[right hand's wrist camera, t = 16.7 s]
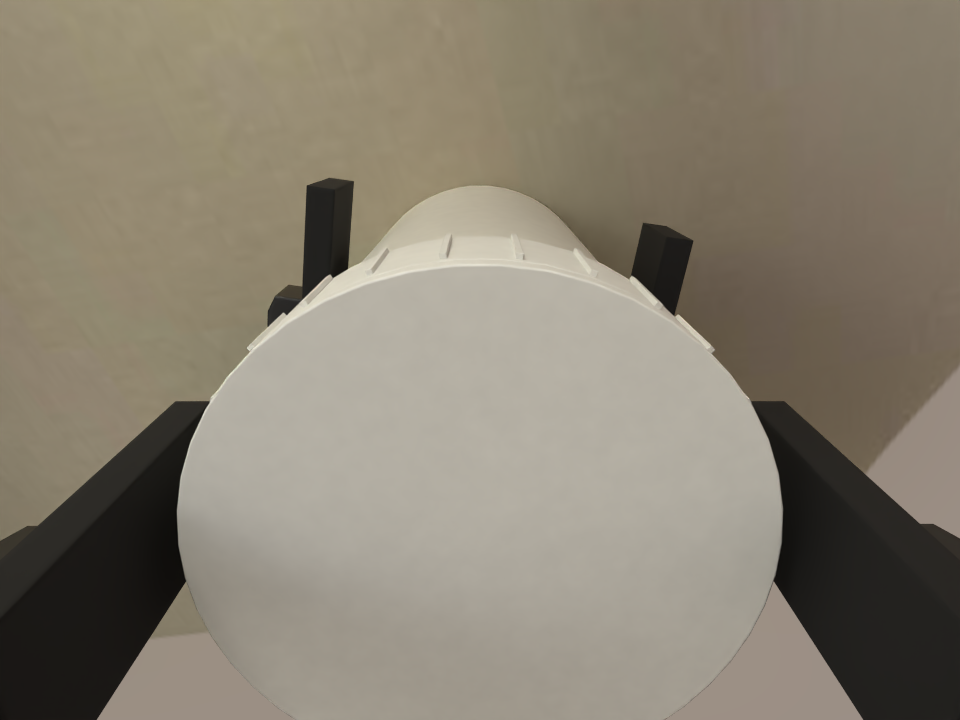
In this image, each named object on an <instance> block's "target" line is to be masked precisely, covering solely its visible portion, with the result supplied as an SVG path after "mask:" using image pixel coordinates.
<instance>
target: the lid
mask: <svg viewBox="0 0 960 720" xmlns="http://www.w3.org/2000/svg"><path fill="white" fill-rule="evenodd" d="M247 349H248V350H249V351H250V353H249V354H248V355H247V356H246V357H245V358H244V359H243V360H242V361H241V362H240V363H239V365H238V366H237V367H236V368H235V369H234V370H233V371H232V372H231V373H230V374H229V375H228V377H227V378H226V379H225V381H224V382H223V384H222V385H221V387H220V388H219V390H218V391H217V392H216V393H215V394H214V395H213V396H212V397H211V399H210V403H209V405H208V406H207V408H206V409H205V411H204V414H203V416H202V418H201V420H200V422H199V424H198V427H197V429H196V431H195V433H194V435H193V438H192V440H191V442H190V445H189V449H188V452H187V456H186V459H185V463H184V467H183V470H182V474H181V479H180V488H179V497H178V506H177V525H178V545H179V550H180V555H181V560H182V565H183V570H184V575H185V579H186V582H187V584H188V587H189V590H190V592H191V595H192V598H193V601H194V603H195V606H196V609H197V611H198V612H199V614H200V616H201V618H202V620H203V622H204V624H205V625H206V627H207V629H208V631H209V633H210V635H211V637H212V638H213V639H214V641H215V642H216V644H217V645H218V646H219V648H220V649H221V650H222V652H223V653H224V655H225V656H226V658H227V659H228V660H229V662H230V663H231V664H232V665H233V666H234V667H235V668H236V670H237V671H238V672H239V673H240V674H241V675H242V676H243V677H244V678H245V679H246V680H247V681H248V682H249V683H250V684H251V686H252V687H253V688H255V689H256V690H257V691H258V692H259V693H260V694H262V695H263V696H264V697H265V698H266V699H268V700H269V701H270V702H271V703H272V704H274V705H275V706H276V707H277V708H278V709H280V710H281V711H283V712H284V713H286V714H287V715H289V716H290V717H292V718H293V719H295V720H665V719H667V718H668V717H670V716H671V715H673V714H674V713H675V712H677V711H678V710H680V709H681V708H683V707H684V706H685V705H687V704H688V703H689V702H690V701H691V700H692V699H694V698H695V697H696V696H697V695H698V694H699V693H701V692H702V691H703V690H704V689H705V688H706V687H708V686H709V685H710V684H711V683H712V681H713V680H714V679H715V678H716V677H717V676H718V675H719V674H720V673H721V672H722V671H723V669H724V668H725V667H726V666H727V665H728V664H729V663H730V662H731V661H732V659H733V658H734V656H735V655H736V653H737V652H738V651H739V649H740V648H741V646H742V645H743V644H744V642H745V641H746V639H747V638H748V636H749V635H750V633H751V631H752V629H753V627H754V625H755V624H756V622H757V620H758V618H759V616H760V614H761V612H762V610H763V608H764V606H765V604H766V601H767V598H768V595H769V592H770V590H771V587H772V584H773V581H774V578H775V575H776V570H777V565H778V560H779V555H780V550H781V544H782V524H783V504H782V496H781V488H780V480H779V473H778V470H777V466H776V463H775V459H774V456H773V453H772V449H771V446H770V442H769V439H768V437H767V435H766V433H765V431H764V429H763V427H762V425H761V422H760V420H759V418H758V416H757V414H756V412H755V410H754V408H753V406H752V404H751V401H750V399H749V398H748V397H747V396H746V395H745V394H744V393H743V391H742V390H741V388H740V387H739V385H738V384H737V383H736V381H735V380H734V378H733V377H732V375H731V374H730V373H729V372H728V371H727V370H726V369H725V368H724V367H723V366H722V364H721V363H720V362H719V361H718V360H717V359H716V358H715V357H714V356H713V355H712V353H713V352H714V351H715V349H714V348H713V347H712V346H711V345H710V344H709V343H708V342H707V341H706V340H705V339H704V338H703V337H702V336H701V335H700V334H699V333H698V332H696V331H695V330H694V329H693V328H692V327H691V326H690V325H689V324H688V323H687V322H686V321H685V320H684V319H683V318H682V317H681V316H680V315H677V316H675V317H674V316H673V315H672V314H671V313H670V312H669V311H668V310H667V309H666V308H665V307H664V306H663V304H662V303H661V302H660V301H659V300H658V299H657V298H656V297H655V296H654V295H653V294H652V293H651V292H650V291H648V290H647V289H646V288H645V287H644V286H643V285H642V284H641V283H640V282H639V281H638V280H637V279H636V278H635V277H633V276H631V278H630V279H627V278H626V277H624V276H622V275H621V274H619V273H617V272H616V271H614V270H612V269H610V268H609V267H607V266H605V265H604V264H601V263H599V262H596V261H594V260H592V259H589V258H587V257H586V256H585V255H584V254H583V253H582V252H581V250H579V249H576V248H575V249H574V251H573V252H572V251H570V250H566V249H562V248H558V247H555V246H551V245H547V244H543V243H540V242H536V241H530V240H522V239H519V238H518V236H517V234H511V238H506V237H498V236H476V237H453V238H452V235H451V234H445V237H444V239H439V240H431V241H424V242H420V243H416V244H413V245H409V246H405V247H402V248H398V249H394V250H391V251H389V250H388V248H384V249H382V250H381V251H380V252H379V254H378V255H377V256H375V257H373V258H371V259H368V260H366V261H364V262H361V263H359V264H357V265H354V266H353V267H351V268H349V269H348V270H346V271H344V272H343V273H341V274H339V275H338V276H336V277H334V278H332V276H331V275H328V276H327V277H325V278H324V279H323V280H322V281H321V282H320V283H319V284H318V285H317V286H316V287H315V288H314V289H313V290H312V291H311V292H310V293H309V294H308V295H307V296H306V297H305V298H304V299H303V300H302V301H301V302H300V303H299V304H298V305H297V306H296V307H295V308H294V309H293V310H292V311H291V312H290V313H289V314H288V315H286V314H285V313H282V314H281V315H280V316H279V317H278V318H277V319H276V320H275V321H274V322H273V323H272V324H271V325H270V326H269V327H268V328H266V329H265V330H264V331H263V332H262V333H261V334H260V335H259V336H258V337H257V338H256V339H255V340H254V341H253V342H252V343H251V344H250V345H249V346H248V347H247Z"/></svg>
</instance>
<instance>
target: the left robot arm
mask: <svg viewBox="0 0 960 720" xmlns="http://www.w3.org/2000/svg"><path fill="white" fill-rule="evenodd" d="M353 186H354V181H348V180H341V179H334V178H328V179H325V180H322V181H319V182H316V183H313V184H310V185H307V193H306V217H305V240H304V263H303V287H300V286H293V285H288V286H287V287H285V288H284V289H283V290H282V291H281V292H279V293H278V294H277V295H276V296H275V297H274V300H273V302H272V304H271V306H270V308H269V310H268V327H269V326H270V325H271V324H272V323H273V322H274V321H275V320H276V319H277V318H278V317H279V316H280V315H281V314H282V313H285V314H286V315H288V314H289V313H290V312H291V311H292V310H293V309H294V308H295V307H296V306H297V305H298V304H299V303H300V302H301V301H302V300H303V299H304V298H305V297H306V296H307V295H308V294H309V293H310V292H311V291H312V290H313V289H314V288H315V287H316V286H317V285H318V284H319V283H320V282H321V281H322V280H323V279H324V278H325V277H327V276H328V275H331V276H332V278H334V277H336V276H338V275H339V274H341V273H343V272H344V271H346V270H348V260H349V245H350V230H351V216H352V201H353ZM692 244H693V240H691V239H689V238H687V237H685V236H684V235H682V234H680V233H678V232H676V231H674V230H672V229H671V228H669V227H667V226H661V225H654V224H647V223H643V225H642V230H641V234H640V239H639V243H638V247H637V252H636V256H635V261H634V265H633V269H632V274H631V276H633V277H635V278H636V279H637V280H638V281H639V282H640V283H641V284H642V285H643V286H644V287H645V288H646V289H647V290H648V291H650V292H651V293H652V294H653V295H654V296H655V297H656V298H657V299H658V300H659V301H660V302H661V303H662V304H663V306H664V307H665V308H666V309H667V310H668V311H669V312H670V313H671V314H672V315H673V316H674V314H675V311H676V307H677V303H678V299H679V295H680V291H681V287H682V283H683V279H684V275H685V272H686V268H687V264H688V260H689V256H690V252H691V248H692Z"/></svg>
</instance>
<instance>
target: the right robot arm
mask: <svg viewBox="0 0 960 720" xmlns="http://www.w3.org/2000/svg"><path fill="white" fill-rule="evenodd" d="M209 403H210V401H176V402H174V403H173V404H172V405H171V406H170V407H169V408H168V409H167V410H166V411H164V412H163V413H162V414H161V415H160V416H159V417H158V418H157V419H156V420H155V421H153V422H152V423H151V424H150V425H149V426H148V427H147V428H146V429H145V430H143V431H142V432H141V433H140V434H139V435H138V436H137V437H136V438H135V439H134V440H132V441H131V442H130V443H129V444H128V445H127V446H126V447H125V448H124V449H122V450H121V451H120V452H119V453H118V454H117V455H116V456H115V457H114V458H113V459H111V460H110V461H109V462H108V463H107V464H106V465H105V466H104V467H103V468H101V469H100V470H99V471H98V472H97V473H96V474H95V475H94V476H93V477H91V478H90V479H89V480H88V481H87V482H86V483H85V484H84V485H83V486H82V487H80V488H79V489H78V490H77V491H76V492H75V493H74V494H73V495H72V496H70V497H69V498H68V499H67V500H66V501H65V502H64V503H63V504H62V505H61V506H59V507H58V508H57V509H56V510H55V511H54V512H53V513H52V514H51V515H49V516H48V517H47V518H46V519H45V520H44V521H43V522H42V523H41V524H40V525H38V526H27V527H25V528H23V529H21V530H19V531H18V532H16V533H14V534H12V535H10V536H9V537H7V538H5V539H3V540H1V541H0V720H97V718H98V717H99V715H100V714H101V712H102V710H103V709H104V708H105V706H106V704H107V703H108V701H109V700H110V698H111V697H112V695H113V694H114V692H115V690H116V689H117V687H118V686H119V684H120V683H121V681H122V680H123V678H124V677H125V675H126V673H127V672H128V670H129V669H130V667H131V666H132V664H133V663H134V661H135V660H136V658H137V656H138V655H139V653H140V652H141V650H142V649H143V647H144V646H145V644H146V642H147V641H148V639H149V638H150V636H151V635H152V633H153V632H154V630H155V629H156V627H157V625H158V624H159V622H160V621H161V619H162V618H163V616H164V615H165V613H166V612H167V610H168V608H169V607H170V605H171V604H172V602H173V601H174V599H175V598H176V596H177V595H178V593H179V591H180V590H181V588H182V587H183V585H184V584H185V582H186V579H185V575H184V570H183V565H182V560H181V555H180V550H179V545H178V525H177V506H178V497H179V488H180V479H181V474H182V470H183V467H184V463H185V459H186V456H187V452H188V449H189V445H190V442H191V440H192V438H193V435H194V433H195V431H196V429H197V427H198V424H199V422H200V420H201V418H202V416H203V414H204V411H205V409H206V408H207V406H208V405H209ZM751 404H752V406H753V408H754V410H755V412H756V414H757V416H758V418H759V420H760V422H761V425H762V427H763V429H764V431H765V433H766V435H767V437H768V439H769V442H770V446H771V449H772V453H773V456H774V459H775V463H776V466H777V470H778V473H779V480H780V488H781V496H782V504H783V524H782V544H781V550H780V555H779V560H778V565H777V570H776V575H775V578H774V582H775V584H776V585H777V587H778V588H779V590H780V591H781V593H782V595H783V596H784V598H785V599H786V601H787V602H788V604H789V605H790V607H791V608H792V610H793V611H794V613H795V615H796V616H797V618H798V619H799V621H800V622H801V624H802V625H803V627H804V628H805V630H806V632H807V633H808V635H809V636H810V638H811V639H812V641H813V642H814V644H815V645H816V647H817V649H818V650H819V652H820V653H821V655H822V656H823V658H824V660H825V661H826V663H827V664H828V666H829V667H830V669H831V670H832V672H833V673H834V675H835V676H836V678H837V680H838V681H839V683H840V684H841V686H842V687H843V689H844V690H845V692H846V694H847V695H848V697H849V698H850V700H851V701H852V703H853V704H854V706H855V708H856V709H857V711H858V712H859V714H860V715H861V717H862V718H863V720H960V538H958V537H956V536H954V535H952V534H950V533H949V532H947V531H945V530H943V529H941V528H940V527H938V526H936V525H934V524H919V523H918V522H917V521H916V520H915V519H914V518H913V517H912V516H910V515H909V514H908V513H907V512H906V511H905V510H904V509H903V508H902V507H901V506H899V505H898V504H897V503H896V502H895V501H894V500H893V499H892V498H891V497H889V496H888V495H887V494H886V493H885V492H884V491H883V490H882V489H881V488H880V487H878V486H877V485H876V484H875V483H874V482H873V481H872V480H871V479H869V478H868V477H867V476H866V475H865V474H864V473H863V472H862V471H861V470H860V469H859V468H857V467H856V466H855V465H854V464H853V463H852V462H851V461H850V460H849V459H847V458H846V457H845V456H844V455H843V454H842V453H841V452H840V451H839V450H838V449H836V448H835V447H834V446H833V445H832V444H831V443H830V442H829V441H828V440H826V439H825V438H824V437H823V436H822V435H821V434H820V433H819V432H818V431H817V430H815V429H814V428H813V427H812V426H811V425H810V424H809V423H808V422H807V421H805V420H804V419H803V418H802V417H801V416H800V415H799V414H798V413H797V412H796V411H794V410H793V409H792V408H791V407H790V406H789V405H788V404H787V403H786V402H784V401H751Z"/></svg>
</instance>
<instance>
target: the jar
mask: <svg viewBox="0 0 960 720" xmlns="http://www.w3.org/2000/svg"><path fill="white" fill-rule="evenodd" d="M445 234H451V235H452V238H453V237H476V236H498V237H506V238H511V234H517V236H518V238H519V239H522V240H530V241H536V242H540V243H543V244H547V245H551V246H555V247H558V248H562V249H566V250H570V251H572V252H573V251H574V249H575V248H576V249H579V250H581V252H582V253H583V254H584V255H585V256H586V257H587V258H589V259H592V260H594V261H596V262H598V261H597V260H596V259H595V257H594V256H593V255H592V254H591V253H590V252H589V251H588V249H587V248H586V247H585V246H584V245H583V244H582V243H581V241H580V240H579V239H578V238H577V237H576V236H575V235H574V233H573V232H572V231H571V230H570V229H569V228H568V227H567V225H566V224H565V223H564V222H563V221H562V220H561V219H560V218H559V217H558V216H557V215H556V214H555V213H553V212H552V211H551V210H550V209H549V208H547V207H546V206H545V205H543V204H541V203H540V202H538V201H536V200H535V199H533V198H531V197H529V196H527V195H524V194H522V193H520V192H517V191H513V190H510V189H506V188H502V187H494V186H466V187H458V188H454V189H450V190H447V191H443V192H440V193H438V194H436V195H433V196H431V197H429V198H427V199H425V200H424V201H422V202H420V203H419V204H417V205H415V206H414V207H413V208H411V209H410V210H409V211H408V212H407V213H405V214H404V215H403V216H402V217H401V218H400V219H399V220H398V221H397V222H396V223H395V224H394V225H393V227H392V228H391V229H390V230H389V231H388V232H387V233H386V235H385V236H384V237H383V238H382V239H381V240H380V241H379V243H378V244H377V245H376V246H375V247H374V248H373V249H372V251H371V252H370V253H369V254H368V255H367V256H366V257H365V259H364V260H363V261H362V262H364V261H366V260H368V259H371V258H373V257H375V256H377V255H378V254H379V252H380V251H381V250H382V249H384V248H388V250H389V251H391V250H394V249H398V248H402V247H405V246H409V245H413V244H416V243H420V242H424V241H431V240H439V239H444V237H445Z"/></svg>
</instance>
